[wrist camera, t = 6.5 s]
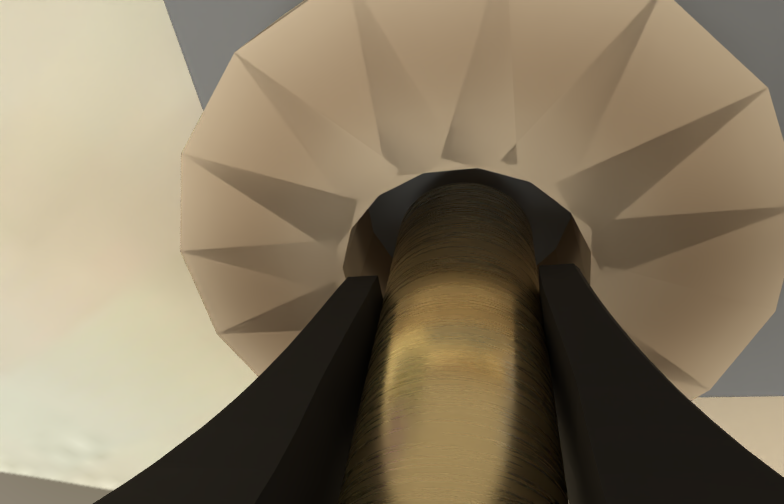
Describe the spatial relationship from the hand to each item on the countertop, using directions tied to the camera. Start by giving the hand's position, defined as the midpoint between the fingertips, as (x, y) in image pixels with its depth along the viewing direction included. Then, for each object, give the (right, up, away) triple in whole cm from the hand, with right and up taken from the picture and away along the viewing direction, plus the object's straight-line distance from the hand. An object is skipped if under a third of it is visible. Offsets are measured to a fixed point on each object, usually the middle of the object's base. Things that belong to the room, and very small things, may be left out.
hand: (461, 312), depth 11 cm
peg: (0, +1, +2) cm, 2 cm away
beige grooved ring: (0, +2, +3) cm, 4 cm away
